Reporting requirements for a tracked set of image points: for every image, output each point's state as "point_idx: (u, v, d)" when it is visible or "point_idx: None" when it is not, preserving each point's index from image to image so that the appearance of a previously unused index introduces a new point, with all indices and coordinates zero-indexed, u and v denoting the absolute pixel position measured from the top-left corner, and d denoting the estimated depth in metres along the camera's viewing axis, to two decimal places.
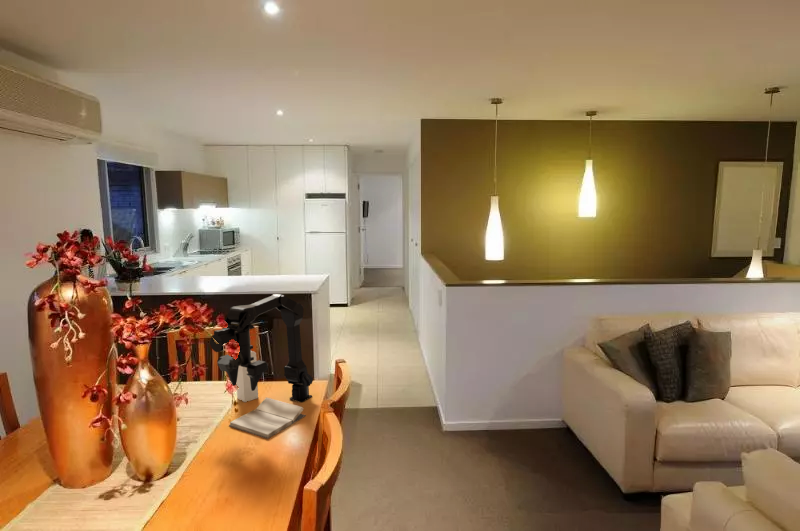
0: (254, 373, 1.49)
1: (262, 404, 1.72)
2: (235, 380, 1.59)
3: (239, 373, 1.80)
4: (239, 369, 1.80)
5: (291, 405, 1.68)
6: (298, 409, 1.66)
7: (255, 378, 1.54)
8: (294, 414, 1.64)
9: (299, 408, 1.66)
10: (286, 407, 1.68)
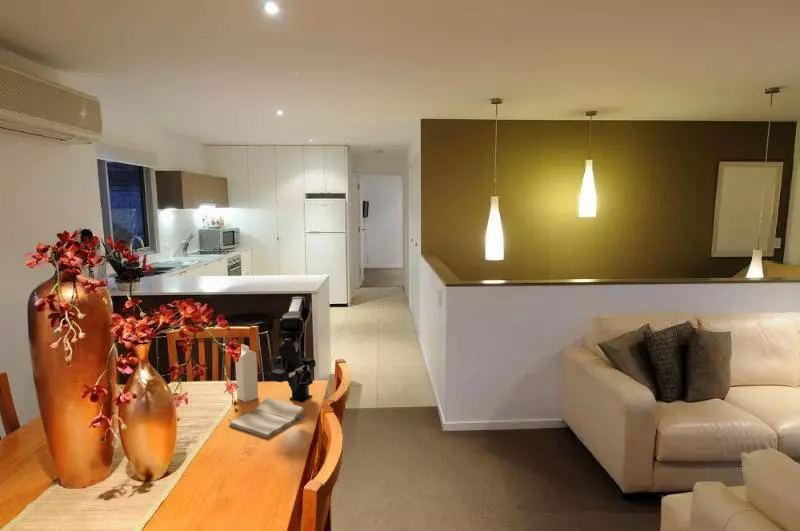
0: None
1: (262, 404, 1.72)
2: None
3: (239, 373, 1.80)
4: (239, 369, 1.80)
5: (291, 405, 1.68)
6: (298, 409, 1.66)
7: (291, 381, 1.64)
8: (294, 414, 1.64)
9: (299, 408, 1.66)
10: (286, 407, 1.68)
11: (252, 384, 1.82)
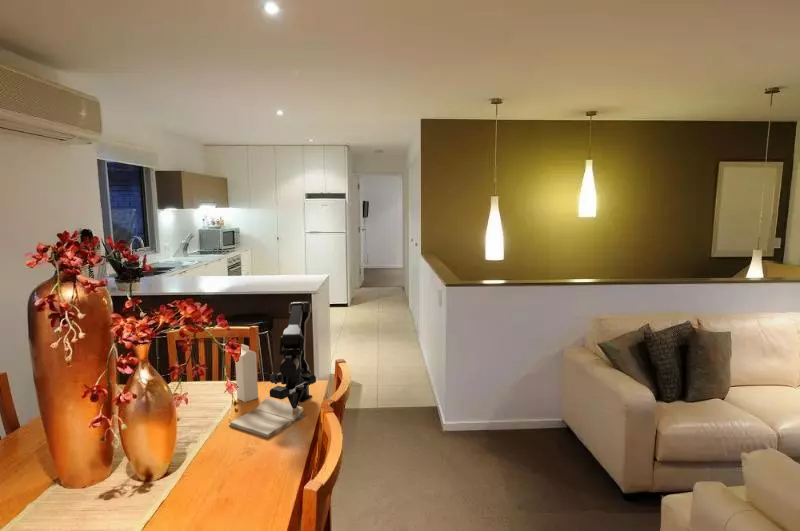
0: None
1: (262, 404, 1.72)
2: None
3: (239, 373, 1.80)
4: (239, 369, 1.80)
5: None
6: (298, 409, 1.66)
7: (291, 398, 1.65)
8: (294, 414, 1.64)
9: (299, 408, 1.66)
10: (286, 407, 1.68)
11: (252, 384, 1.82)
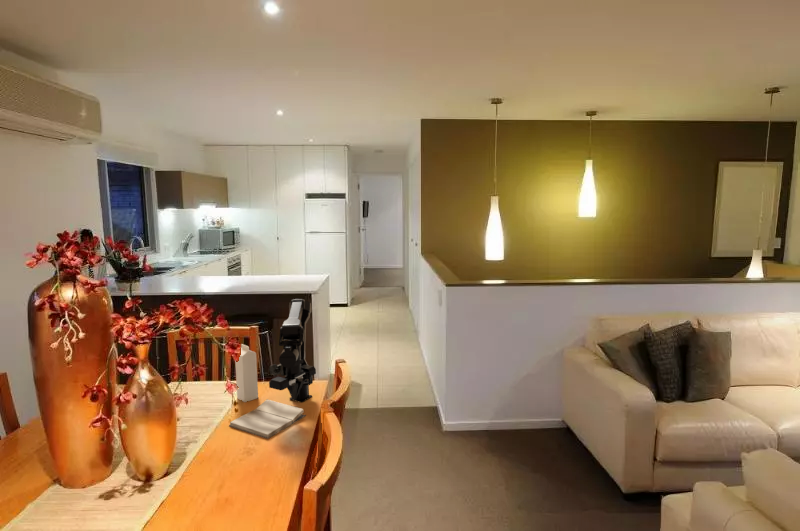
0: None
1: (262, 405, 1.72)
2: None
3: (239, 373, 1.80)
4: (239, 369, 1.80)
5: (292, 407, 1.69)
6: (299, 411, 1.66)
7: (291, 389, 1.64)
8: (294, 415, 1.64)
9: (300, 410, 1.66)
10: (286, 408, 1.68)
11: (252, 384, 1.82)
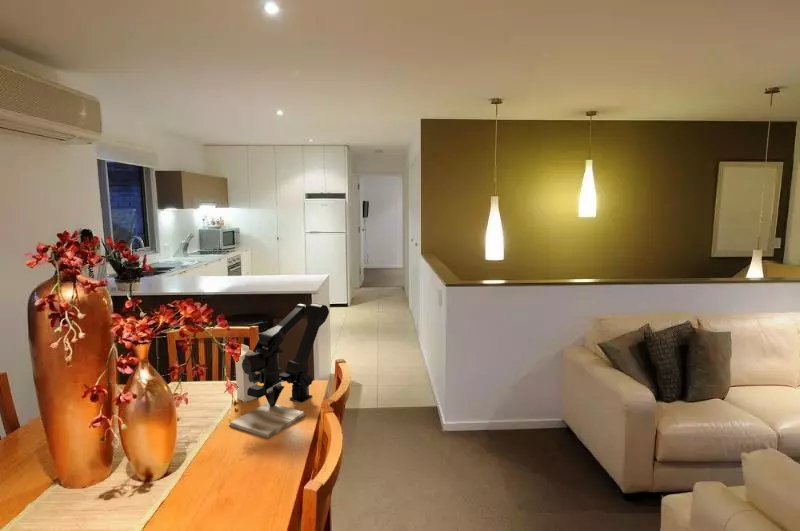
0: None
1: (263, 406, 1.72)
2: None
3: (239, 373, 1.80)
4: (239, 369, 1.80)
5: (292, 409, 1.69)
6: (299, 413, 1.66)
7: (268, 396, 1.70)
8: (294, 416, 1.64)
9: (300, 412, 1.67)
10: (287, 410, 1.69)
11: (252, 384, 1.82)
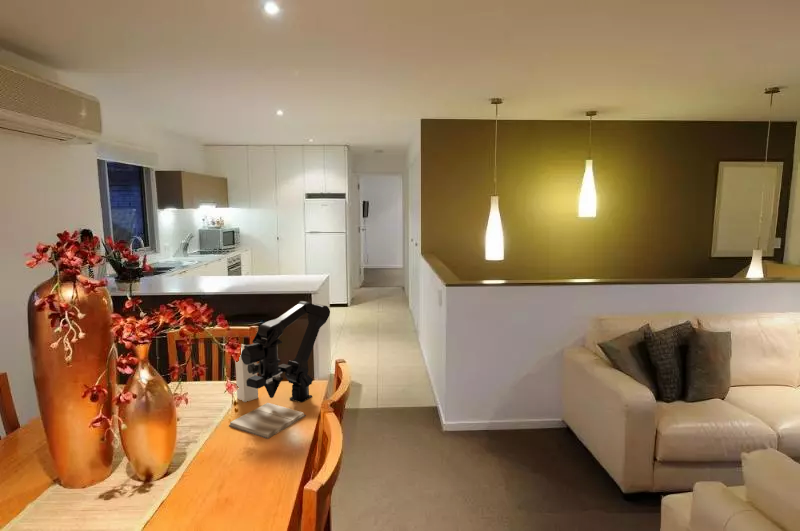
0: None
1: (263, 406, 1.72)
2: None
3: (239, 373, 1.80)
4: (239, 369, 1.80)
5: (292, 410, 1.69)
6: (299, 413, 1.66)
7: (268, 387, 1.70)
8: (294, 416, 1.64)
9: (300, 413, 1.67)
10: (287, 410, 1.69)
11: None
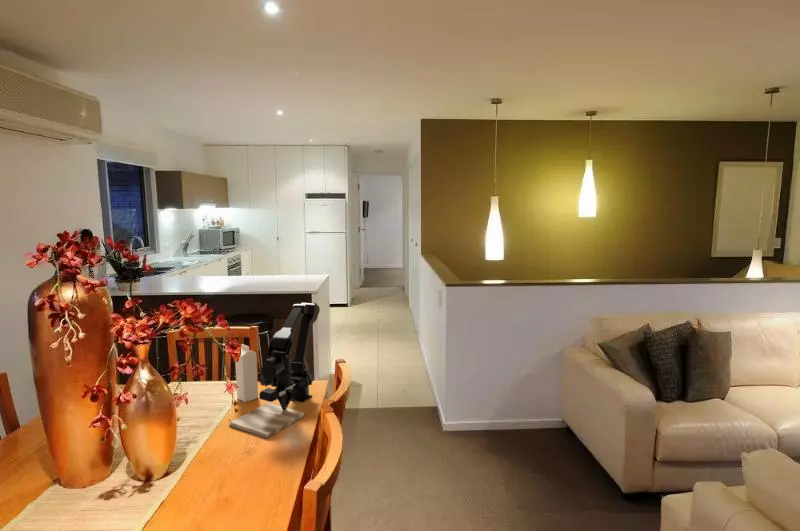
0: None
1: (263, 406, 1.72)
2: None
3: (239, 373, 1.80)
4: (239, 369, 1.80)
5: (292, 410, 1.69)
6: (299, 413, 1.66)
7: (281, 400, 1.68)
8: (294, 416, 1.64)
9: (300, 413, 1.67)
10: (287, 410, 1.69)
11: (252, 384, 1.82)
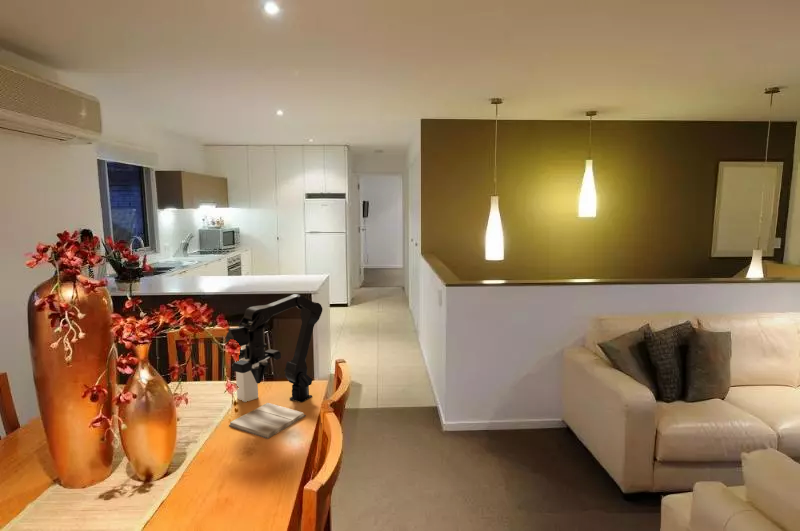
0: None
1: (263, 406, 1.72)
2: None
3: (239, 373, 1.80)
4: None
5: (292, 410, 1.69)
6: (299, 413, 1.66)
7: (255, 372, 1.66)
8: (294, 416, 1.64)
9: (300, 413, 1.67)
10: (287, 410, 1.69)
11: (252, 384, 1.82)
